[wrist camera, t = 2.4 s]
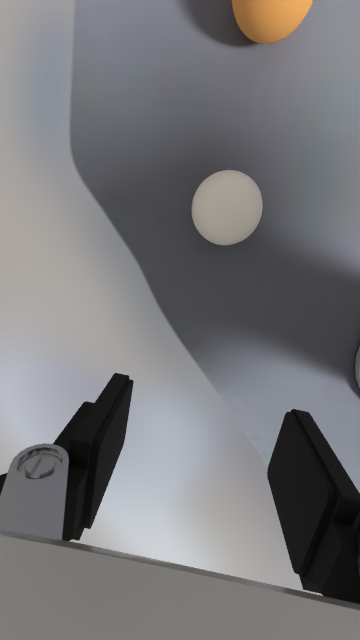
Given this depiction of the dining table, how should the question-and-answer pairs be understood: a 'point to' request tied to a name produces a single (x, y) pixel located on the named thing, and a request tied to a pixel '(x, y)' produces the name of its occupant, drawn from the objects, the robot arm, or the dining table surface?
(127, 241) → the dining table surface
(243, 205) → the white ball
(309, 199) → the dining table surface
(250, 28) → the orange ball
